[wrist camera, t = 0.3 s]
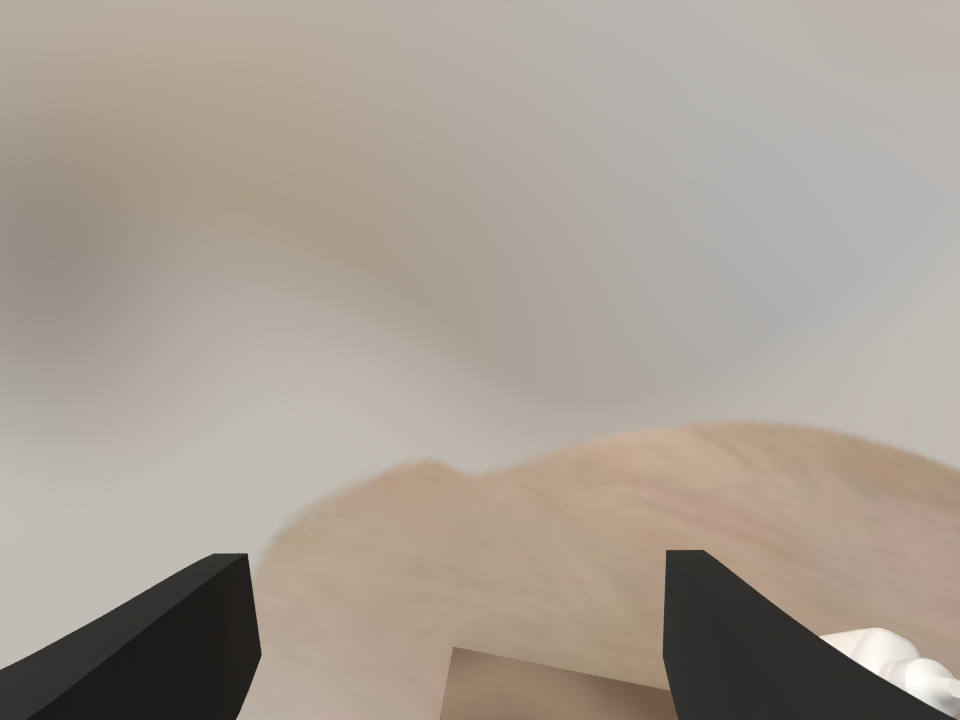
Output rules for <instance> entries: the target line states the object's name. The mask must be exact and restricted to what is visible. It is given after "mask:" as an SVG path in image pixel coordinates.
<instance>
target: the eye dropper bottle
mask: <svg viewBox="0 0 960 720" xmlns="http://www.w3.org/2000/svg"><path fill="white" fill-rule="evenodd" d="M818 637H820V638H821V639H823V640H824V641H826V642H827V643H829V644H830V645H832V646H833V647H835V648H836V649H838V650H839V651H841V652H842V653H844V654H845V655H846V656H848V657H849V658H851V659H852V660H854V661H856V662H857V663H859V664H860V665H862V666H864V667H865V668H867V669H868V670H870V671H872V672H873V673H875V674H876V675H878V676H880V677H882V678H883V679H885V680H887V681H888V682H890V683H892V684H894V685H895V686H897V687H899V688H901V689H902V690H904V691H906V692H907V693H909V694H911V695H913V696H914V697H916V698H918V699H920V700H921V701H923V702H925V703H927V704H928V705H930V706H932V707H934V708H936V709H938V710H940V711H941V712H943V713H945V714H947V715H949V716H951V717H953V718H954V716H956V714H957V713H958V712H959V710H960V681H958V680H956V679H955V678H954V677H953V675H952V674H951V673H950V672H949V671H948V669H946V668H945V667H944V666H943V665H941V664H940V663H938V662H937V661H934V660H931V659H928V658H921V656H920V653H919V652H918V650H917V648H916V647H915V646H914V645H913V644H912V643H911V642H909V641H907V640H906V639H904V638H902V637H900V636H899V635H897V634H895V633H893V632H891V631H888V630H886V629H882V628H867V629H859V630H853V631H847V632H840V633H834V634H829V635H823V636H818Z"/></svg>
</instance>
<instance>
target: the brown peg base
mask: <svg viewBox="0 0 960 720" xmlns="http://www.w3.org/2000/svg"><path fill="white" fill-rule="evenodd" d="M440 720H678V717H677V714H676V710H675V706H674V702H673V698H672V694H671V691H667V690H662V689H657V688H653V687H648V686H643V685H638V684H633V683H628V682H623V681H618V680H613V679H608V678H603V677H599V676H594V675H589V674H584V673H579V672H574V671H569V670H564V669H559V668H554V667H550V666H545V665H540V664H535V663H530V662H525V661H520V660H515V659H510V658H505V657H500V656H496V655H491V654H486V653H481V652H476V651H471V650H466V649H461V648H456V647H453V652H452V657H451V663H450V668H449V673H448V679H447V684H446V690H445V695H444V700H443V706H442V711H441V717H440Z"/></svg>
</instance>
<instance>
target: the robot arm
mask: <svg viewBox="0 0 960 720" xmlns="http://www.w3.org/2000/svg"><path fill="white" fill-rule="evenodd" d="M261 655H262V654H261V647H260V639H259V632H258V625H257V618H256V611H255V604H254V597H253V589H252V582H251V575H250V568H249V561H248V554H247V553H246V554H245V553H244V554H243V553H241V554H240V553H238V554H212V555H210V556H207V557H205V558H203V559H201V560H199V561H197V562H195V563H193V564H192V565H190V566H188V567H186V568H184V569H182V570H181V571H179V572H177V573H175V574H174V575H172V576H170V577H168V578H167V579H165V580H163V581H162V582H160V583H158V584H156V585H155V586H153V587H151V588H150V589H148V590H146V591H144V592H143V593H141V594H139V595H138V596H136V597H134V598H132V599H131V600H129V601H127V602H126V603H124V604H122V605H120V606H119V607H117V608H115V609H114V610H112V611H110V612H108V613H107V614H105V615H103V616H102V617H100V618H98V619H96V620H95V621H92V622H91V623H89V624H87V625H85V626H83V627H82V628H80V629H78V630H76V631H74V632H72V633H70V634H69V635H67V636H65V637H63V638H61V639H59V640H58V641H56V642H54V643H52V644H50V645H48V646H46V647H45V648H43V649H41V650H39V651H37V652H36V653H34V654H32V655H30V656H28V657H26V658H24V659H22V660H20V661H18V662H16V663H14V664H12V665H10V666H7V667H5V668H3V669H1V670H0V720H236V718H237V716H238V714H239V712H240V710H241V708H242V705H243V703H244V700H245V698H246V695H247V693H248V690H249V688H250V685H251V683H252V680H253V677H254V674H255V672H256V669H257V666H258V663H259V661H260V658H261ZM663 659H664V664H665V668H666V672H667V677H668V681H669V685H670V690H671V694H672V698H673V702H674V706H675V710H676V714H677V717H678V720H957V719H955V718H953V717H951V716H949V715H947V714H945V713H943V712H941V711H940V710H938V709H936V708H934V707H932V706H930V705H928V704H927V703H925V702H923V701H921V700H920V699H918V698H916V697H914V696H913V695H911V694H909V693H907V692H906V691H904V690H902V689H901V688H899V687H897V686H895V685H894V684H892V683H890V682H888V681H887V680H885V679H883V678H882V677H880V676H878V675H876V674H875V673H873V672H872V671H870V670H868V669H867V668H865V667H864V666H862V665H860V664H859V663H857V662H856V661H854V660H852V659H851V658H849V657H848V656H846V655H845V654H844V653H842V652H841V651H839V650H838V649H836V648H835V647H833V646H832V645H830V644H829V643H827V642H826V641H824V640H823V639H821V638H820V637H818V636H817V635H815V634H814V633H812V632H811V631H810V630H808V629H807V628H805V627H804V626H803V625H801V624H800V623H798V622H797V621H796V620H794V619H793V618H792V617H790V616H789V615H788V614H786V613H785V612H783V611H782V610H781V609H779V608H778V607H777V606H776V605H774V604H773V603H772V602H770V601H769V600H768V599H766V598H765V597H764V596H762V595H761V594H760V593H759V592H757V591H756V590H755V589H753V588H752V587H751V586H750V585H748V584H747V583H746V582H745V581H743V580H742V579H741V578H739V577H738V576H737V575H736V574H734V573H733V572H732V571H731V570H729V569H728V568H727V567H726V566H724V565H723V564H722V563H720V562H719V561H718V560H717V559H715V558H714V557H713V556H711V555H710V554H708V553H707V552H706V551H704V550H666V576H665V604H664V633H663Z"/></svg>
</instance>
